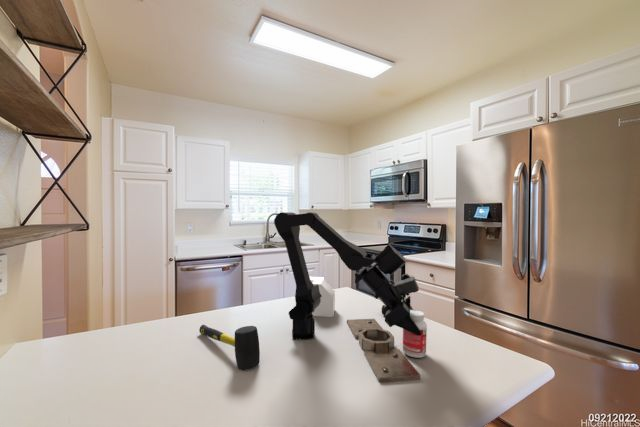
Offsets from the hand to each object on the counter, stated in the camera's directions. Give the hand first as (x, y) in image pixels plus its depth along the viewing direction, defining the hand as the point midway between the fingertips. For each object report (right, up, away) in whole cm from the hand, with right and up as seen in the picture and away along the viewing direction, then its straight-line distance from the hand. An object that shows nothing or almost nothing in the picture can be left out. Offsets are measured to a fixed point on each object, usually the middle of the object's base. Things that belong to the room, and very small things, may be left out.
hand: (420, 329), depth 74 cm
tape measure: (0, -7, +29) cm, 30 cm away
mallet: (-54, -7, +2) cm, 55 cm away
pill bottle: (-1, -7, +1) cm, 7 cm away
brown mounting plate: (-11, -7, +5) cm, 14 cm away
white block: (-27, -7, +32) cm, 43 cm away
